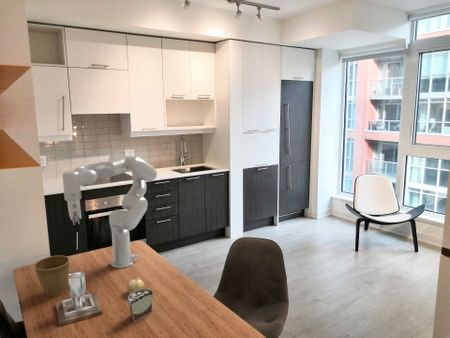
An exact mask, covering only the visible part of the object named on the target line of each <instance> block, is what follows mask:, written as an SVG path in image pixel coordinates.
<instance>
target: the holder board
mask: <svg viewBox="0 0 450 338" xmlns="http://www.w3.org/2000/svg"><path fill="white" fill-rule="evenodd" d="M85 301H86V307H85V308H82V309H79V310H72V308H71V307H72V299H71V298H69V299H65V300H62V301H58V302H55V307H56V313H57V320H58V326H59V327H61V326H64V325H68V324H72V323H75V322H79V321H82V320H85V319H90V318H93V317H96V316H99V315H103V309H102V307H101V306H102V305H101V304H100V301H99V299H98V295H97V293H96V292H93V293H88V294H85Z"/></svg>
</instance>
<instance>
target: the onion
mask: <svg viewBox="0 0 450 338" xmlns="http://www.w3.org/2000/svg"><path fill="white" fill-rule="evenodd" d="M139 289H145V283H144V281H143V280H142V279H141V278H140V277H138V276H136V278H133V279H131V280H130V281H128V283H127V285H126V290H127V291H128V293H129V294H131V293H132V292H134V291H136V290H139Z"/></svg>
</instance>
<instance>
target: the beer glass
mask: <svg viewBox="0 0 450 338" xmlns="http://www.w3.org/2000/svg"><path fill="white" fill-rule="evenodd" d="M67 284H68V292H69V295H70V299H72V307H71V308H72V310H79V309H82V308H85V307H86V301H85V295H86V288H87V284H86V275H85V272H84V271H75V272H72V273H69V274H68V277H67Z"/></svg>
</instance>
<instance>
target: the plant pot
mask: <svg viewBox="0 0 450 338" xmlns="http://www.w3.org/2000/svg"><path fill="white" fill-rule="evenodd" d="M33 266H34V270H35V273H36V276H37V278H38V281H39V283H40V286H41V287H42V289H43V290H44V292H45V294H46V295H47V296H48V297H50V298H52V297H58V296H61V295H62V294H63V293H64V292H65V288H66V286H67V283H68V276H69V268H70V258H69V256H65V255H52V256H48V257H44V258H41V259H40V260H38V261H37V262H36V263H35V264H34V265H33Z"/></svg>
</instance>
